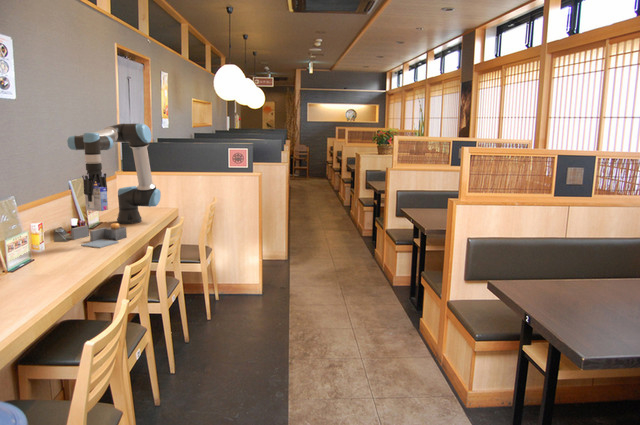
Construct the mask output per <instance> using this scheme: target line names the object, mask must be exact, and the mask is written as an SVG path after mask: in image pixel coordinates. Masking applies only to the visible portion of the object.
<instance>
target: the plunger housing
mask: <svg viewBox="0 0 640 425" xmlns="http://www.w3.org/2000/svg"><path fill="white" fill-rule="evenodd" d="M105 228H106V229H104V234H105V239H104V240H111V241H120V240H124V239H127V238H128V237H127V236H128V235H127V227H126V226H119V228H117V229H113V228H111V226H110V227H105Z"/></svg>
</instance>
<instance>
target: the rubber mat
mask: <svg viewBox="0 0 640 425" xmlns="http://www.w3.org/2000/svg"><path fill="white" fill-rule="evenodd" d="M119 242H120V240H117V241H114V240H106V239H100V240H96V241H93V242H91V241H90V242H87V243H86V242H85V243H82V244H80V246H81V247H86V248H87V247H89V248H94V249H95V248H97V249H101V248H105V247H108V246H112V245H115V244H119Z"/></svg>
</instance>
